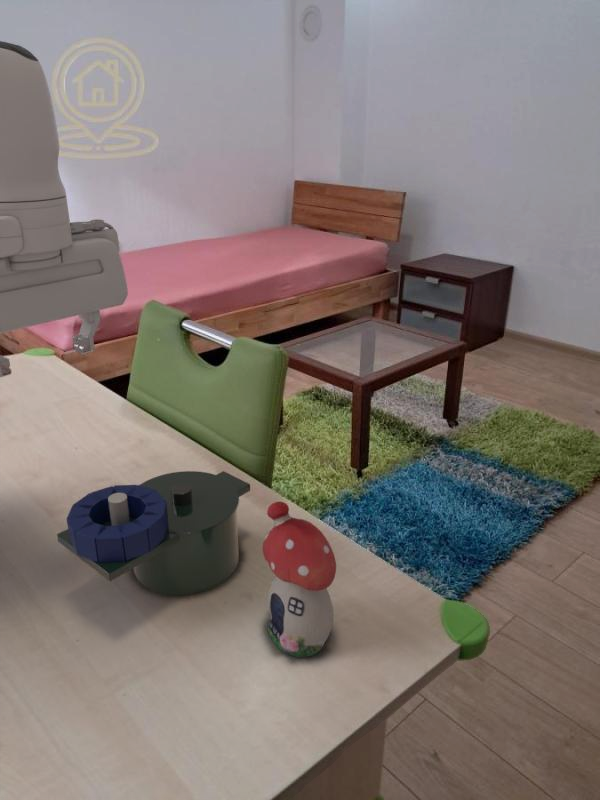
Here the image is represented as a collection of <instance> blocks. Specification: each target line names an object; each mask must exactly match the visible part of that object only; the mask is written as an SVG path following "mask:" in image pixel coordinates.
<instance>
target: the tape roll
mask: <svg viewBox="0 0 600 800" xmlns="http://www.w3.org/2000/svg"><path fill="white" fill-rule="evenodd" d="M114 493H124V494H126V495H127V500H128V508H129V516H130V517H134V518H137V519H136V520H135V521H133V522H130V523H127V524H124V525H121V526H103V525H101V524H103V523H104V522H106V521H109V520H111V518H110V511H109V504H108V497H109V496H110V495H112V494H114ZM66 525H67V529H68V531H69V537H70V542H71V544H72V546H73V548H74V549H75V551H76V553H77V554H78V555H79V556H81V557H84V558H87V559H90V560H92V561H95V562H99V563H104V562H124V561H125V560H126V561H128V560H130V559H133V558H136V557H138V556H141V555H144V554H146V553H149V551H152V550H153V549H154V548H155V547H156V546H158V545H159V544H160V543H161V542H162V541H163V540H164V539H165V537H166V534H167V529H168V514H167V503H166V500H165V499H164V498H163V497H162V496H161V495H160V494H159V493H158V491H156V490H154V489H151V488H147V487H144V486H140V484H119V485H117V484H115V485H111V486H108V487H104V488H101V489H97V490H95V491H91V492H89V493H88V494H86V495H84V496H83V497H82V498H80V499H79V500H77V501H76V502H75V503H73V504H72V505H71V508H70V510H69V512H68V514H67V517H66Z"/></svg>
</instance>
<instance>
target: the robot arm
mask: <svg viewBox="0 0 600 800" xmlns="http://www.w3.org/2000/svg"><path fill="white" fill-rule="evenodd" d="M59 155H60V140H59V133H58V127H57V121H56V115H55V110H54V106H53V100H52V96H51V92H50V88H49V84H48V81H47V77H46V75H45V71H44V69H43V66H42V64H41V62H40V61H39V59H38V58H37V57H36V56H35V55H34V54H33V53H32V51H29V50H28V49H27V48H25V47H24V46H21V45H20V44H15V43H11V42H8V41H7V42H6V41H2V40H0V335H2V334H5V333H10V332H14V331H17V330H23V329H27V328H30V327H31V328H32V327H35V326H38V325H44V324H48V323H51V322H56V321H60V320H64V319H68V318H73V317H77V316H78V318H79V319H82V321H81V326H80V328H79V332H78V334H76V335H72V342H73V343H74V344H73V349H74V351H75V352H76V353H78V354H80V355H84V354H87V353H91V352H94V351H95V349H96V348H95V341H94V337H95V335H96V332H97V330H98V327H99V325H100V323H101V320H102V319H101V310H102V311H103V310H106V309H109V308H115V307H119V306H122V305H124V304H125V302H126V300H127V298H128V296H129V295H128V294H129V290H128V284H127V280H126V279H127V278H126V274H125V270H124V266H123V265H124V264H123V262H122V258H121V254H120V243H119V235H118V231H117V230H116V229H115V227H114V226H112V225H111V224H110V223H108V222H105V221H104V219H100V218H99V219H92V220H91V219H90V221H70V220H71V219H70V214H69V207H68V197H67V192H66V188H65V185H64V183H63V182H62V178H61V176H60V171H59ZM10 367H11V362H10V359H9V358H7V357H5V356H4V355H1V354H0V379H1V378H3V377H7V376H11V375H12V368H10Z"/></svg>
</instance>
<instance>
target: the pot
mask: <svg viewBox="0 0 600 800" xmlns="http://www.w3.org/2000/svg"><path fill="white" fill-rule="evenodd" d="M139 485H140V486H144V487H147V488H151V489H154V490H156V491H158V493H159V494H160V495H161V496H162V497H163V498H164V499H165V500H166V503H167V514H168V529H167V534H166V537H165V539H164V540H163V541H162V542H161V543H160V544H159V545H158V546H156V547H155V548H154V549H153V550H152V551H149V553H146V554H144V555H141V556H138V557H136V558H133V559H130V560H128V561H126V560H125V561H124V562H104V563H99V562H95V561H92V560H90V559H87V558H84V557H81V556H79V555H78V554H77V553H76V551H75V549H74V548H73V546H72V544H71V542H70V537H69V531H68V528H67V529H65V530H63V531H61V532H58V533H57V534H56V537H57V542H58V543H59V544H60V545H62V546H63V547H65V549H67V550H68V551H69V552H71V553H72V554H74V555H75V556H76V557H77V558H79V559H80V560H81V561H82V562H83V563H85V564H86V565H88V566H89V567H90V568H91V569H93V570H94V571H96V572H97V573H98V574H99V575H101V576H102V577H103V578H104V579H106V580H107V581H109V582H113V580H116V579H117V578H119V577H121V576H122V575H124V574H126V573H128V572H129V571H131V570H133V572H134V575H135V577H136V579H137V580H138V582H139V583H140V584H141V585H142V586H144V587H146V588H147V589H149V590H151V591H152V592H155V593H159V594H163V595H167V596H168V595H169V596H188V595H189V596H190V595H194V594H199V593H203V592H206V591H209V590H212V589H213V588H216V587H217V586H219V585H220V584H222V583H224V582H226V580H227V579H228V578H230V577H231V576H232V574H233V573H234V572H235V570H236V569H237V567H238V564H239V559H240V558H239V557H240V556H239V554H240V553H239V529H238V528H239V527H238V507H239V504H240V497H241V496H243V495H246V494H248V493H249V492H250V491H251V484H250V483H248V482H246V481H244V480H242V479H240V478H239V477H236V476H235V475H233V474H230V473H229V472H226V471H224V470H223V471H220V472H219V473H217V474H215V473H212V472H211V473H210V472H205V471H193V470H191V471H190V470H186V471H183V470H182V471H175V472H169V473H164V474H161V475H158V476H155V477H151V478H150V479H148V480H145V481H144V482H142V483H140V484H139ZM108 504H109V511H110V518H111V520H109V521H106V522H104V523H103V524H101V525H103V526H121V525H124V524H127V523H130V522H133V521H135V520H136V519H137V518H134V517H130V516H129V508H128V500H127V495H126V494H124V493H114V494H112V495H110V496H109V497H108Z"/></svg>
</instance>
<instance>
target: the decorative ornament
mask: <svg viewBox="0 0 600 800" xmlns="http://www.w3.org/2000/svg"><path fill="white" fill-rule="evenodd" d="M289 511H290V507H289V505H288V504H287V503H286V502H284V501H275V502H272V503H271V504H270V505H268V508H267V510H266V514H267V516H268V517H269V518H270V519H271V520H272V521H273V523H274V526H273V527H272V529H270V530H269V532H267V534H266V535H265V537H264V540H263V544H262V555H263V557H264V559H265V561H266V562H267V564H268V566H269V568H270V570H271V571H272V573H273V574H274V575H275V576H274V577H273V578H272V581H271V583H270V586H269V590H268V597H267V599H268V600H267V602H268V609H269V613H270V620H269V621H268V623H267V631H268V634H269V637H270V639H271V640H272V641H273V643H274V645H275V646H276V647H277V648H278V649H279V650H280V651H281V652H282V653H284V654H287V655H289V656H291V657H295V658H297V659H300V658H305V657H311V656H312V657H313V656H315V655H318V653H319V652H320V651H321V650H322V649H323V647H324V645H325V642H326V641H327V640H328V638H329V635H330V634H331V631H332V629H333V623H334V607H333V602H332V599H331V596H330V593H329V590H328V588H329V587H330V586H331V585H332V583H333V582H334V580H335V577H336V572H337V562H336V557H335V554H334V551H333V549H332V546H331V544H330V543H329V540H328V539H327V538H326V536H325V535H324V534H323V532H322V531H321V530H320V529H319V528H318V527H317V526H316V525H314V524H313V523H312V522H311V521H309V520H307V519H303V518H297V517H293V516H291V515H290V514H289Z"/></svg>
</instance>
